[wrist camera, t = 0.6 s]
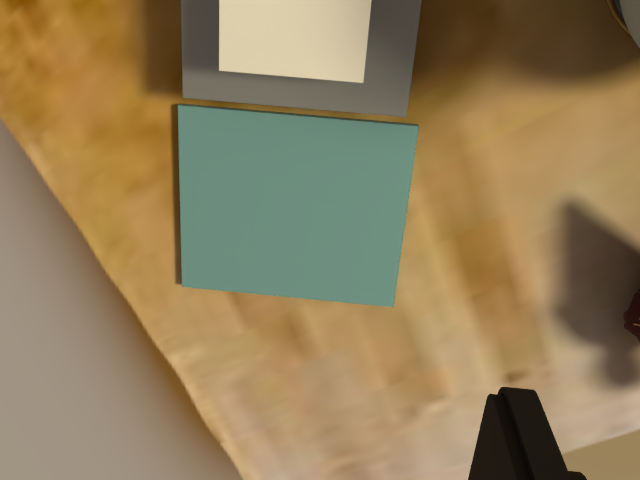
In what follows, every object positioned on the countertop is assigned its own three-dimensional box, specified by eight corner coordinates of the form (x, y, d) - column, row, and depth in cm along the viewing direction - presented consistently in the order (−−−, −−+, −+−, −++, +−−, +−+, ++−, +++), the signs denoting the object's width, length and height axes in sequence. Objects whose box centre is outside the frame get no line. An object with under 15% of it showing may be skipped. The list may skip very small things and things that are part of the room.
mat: (180, 103, 36) (177, 105, 35) (417, 124, 35) (418, 126, 35) (184, 283, 41) (182, 286, 40) (392, 303, 40) (393, 307, 40)
